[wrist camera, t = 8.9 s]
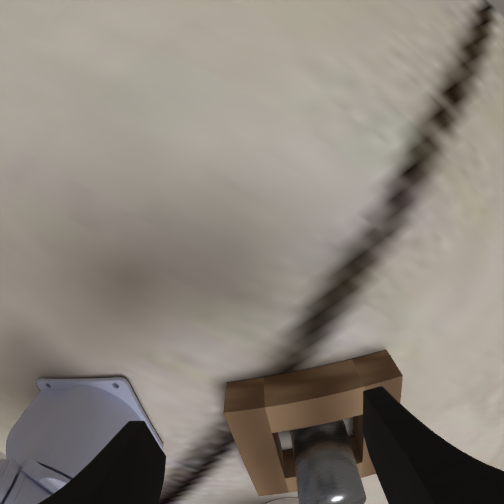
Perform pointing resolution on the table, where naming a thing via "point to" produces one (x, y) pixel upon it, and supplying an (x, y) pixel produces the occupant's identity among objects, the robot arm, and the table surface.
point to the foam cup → (285, 501)
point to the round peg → (326, 465)
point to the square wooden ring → (302, 413)
